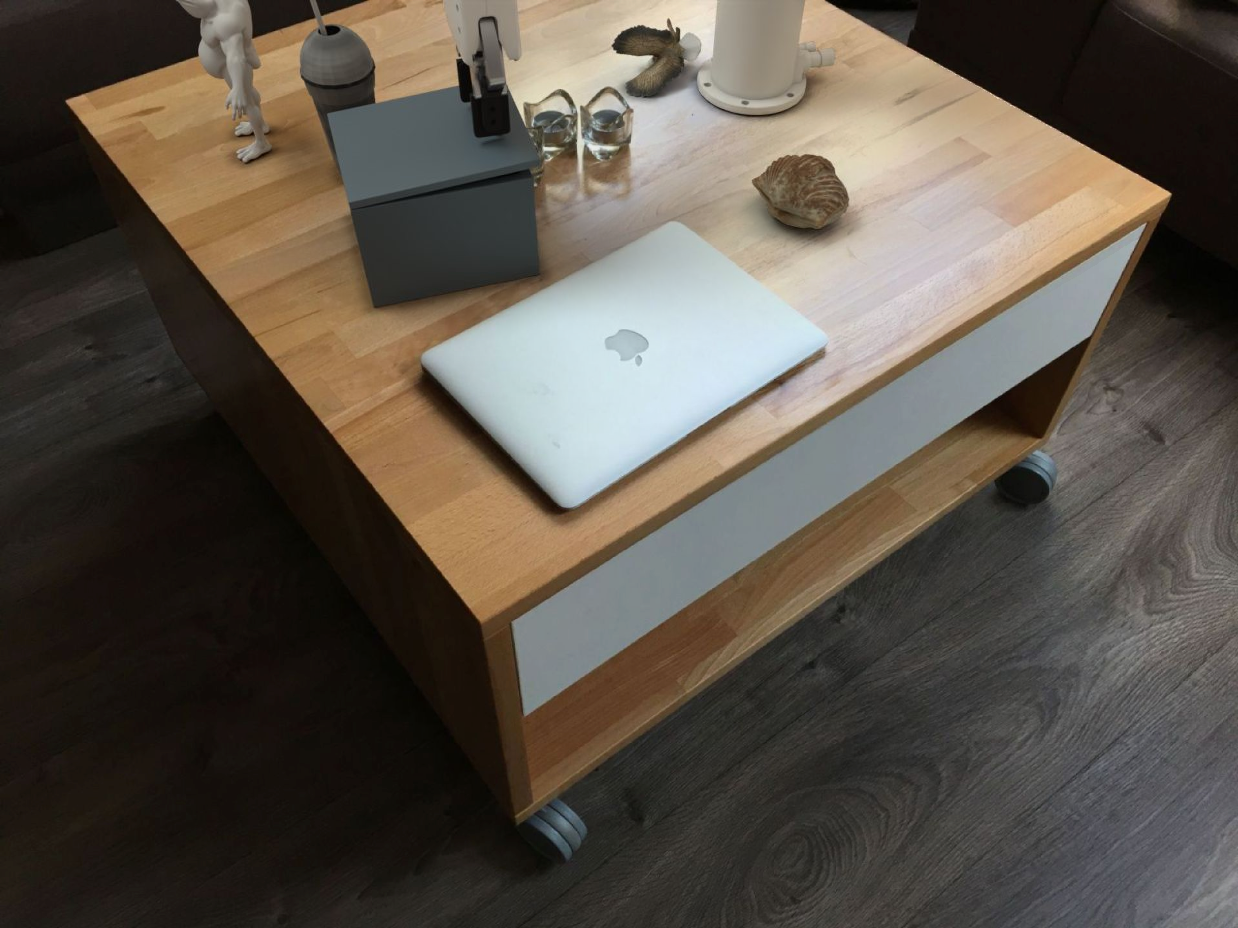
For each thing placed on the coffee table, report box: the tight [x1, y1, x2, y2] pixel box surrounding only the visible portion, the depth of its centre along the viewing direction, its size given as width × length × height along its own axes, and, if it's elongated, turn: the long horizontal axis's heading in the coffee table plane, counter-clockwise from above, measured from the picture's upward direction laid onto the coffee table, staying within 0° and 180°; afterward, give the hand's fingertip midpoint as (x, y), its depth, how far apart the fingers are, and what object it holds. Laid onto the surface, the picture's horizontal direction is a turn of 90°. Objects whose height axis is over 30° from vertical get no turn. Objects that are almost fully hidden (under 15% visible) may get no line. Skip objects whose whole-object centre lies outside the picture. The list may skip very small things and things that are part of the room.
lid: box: [327, 67, 542, 210], centre depth 90 cm, size 17×14×5 cm
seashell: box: [751, 153, 850, 230], centre depth 101 cm, size 9×7×8 cm
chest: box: [349, 168, 541, 308], centre depth 96 cm, size 16×14×11 cm
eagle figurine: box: [610, 17, 702, 98], centre depth 118 cm, size 8×7×9 cm
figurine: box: [175, 0, 272, 163], centre depth 104 cm, size 18×7×18 cm, turn 16°
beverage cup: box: [299, 0, 377, 178], centre depth 101 cm, size 7×7×20 cm
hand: (484, 114), depth 91 cm, fingers closed on lid, 5 cm apart
